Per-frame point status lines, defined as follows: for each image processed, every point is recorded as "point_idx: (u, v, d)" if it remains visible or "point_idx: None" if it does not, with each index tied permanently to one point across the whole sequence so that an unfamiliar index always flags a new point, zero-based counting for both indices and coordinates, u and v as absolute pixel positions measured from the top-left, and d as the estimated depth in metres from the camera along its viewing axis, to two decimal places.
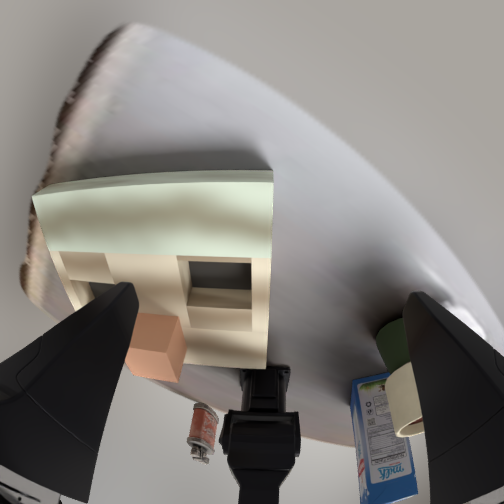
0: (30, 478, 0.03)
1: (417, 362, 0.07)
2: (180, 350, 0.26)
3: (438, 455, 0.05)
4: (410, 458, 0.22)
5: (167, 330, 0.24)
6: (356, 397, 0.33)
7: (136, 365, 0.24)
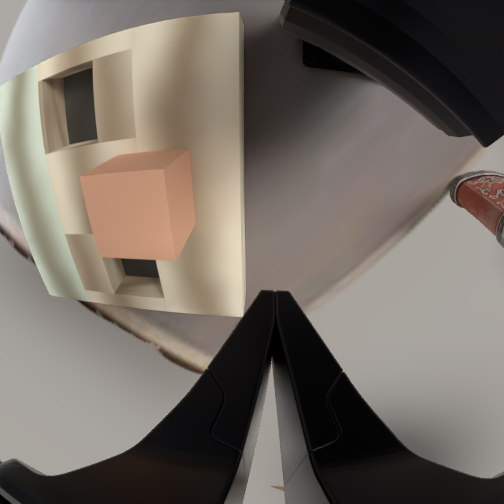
0: None
1: (274, 370, 0.07)
2: (150, 157, 0.14)
3: (286, 482, 0.05)
4: None
5: None
6: None
7: (136, 242, 0.14)
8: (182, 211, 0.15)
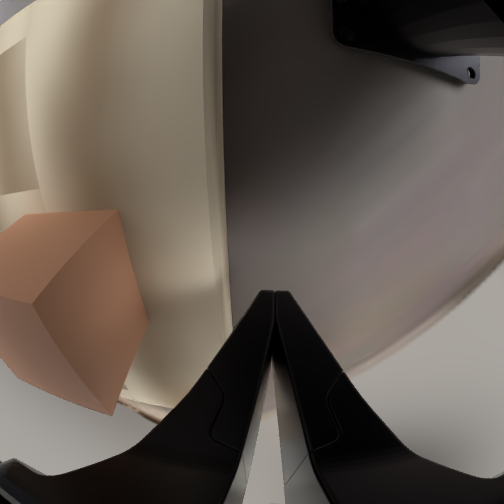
0: None
1: (274, 370, 0.07)
2: (47, 235, 0.07)
3: (286, 482, 0.05)
4: None
5: None
6: None
7: (48, 382, 0.06)
8: (109, 335, 0.08)
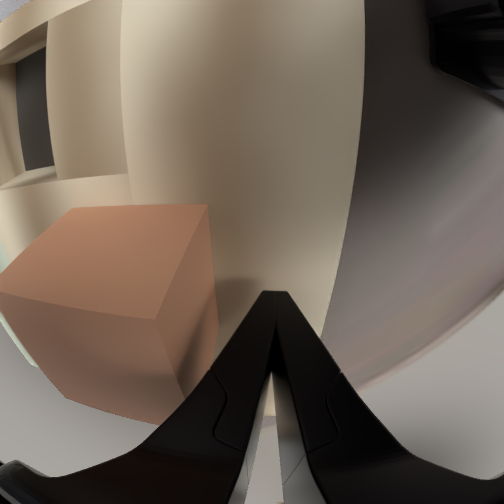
0: None
1: (273, 370, 0.07)
2: (125, 232, 0.07)
3: (285, 482, 0.05)
4: None
5: None
6: None
7: (120, 404, 0.06)
8: (200, 344, 0.07)
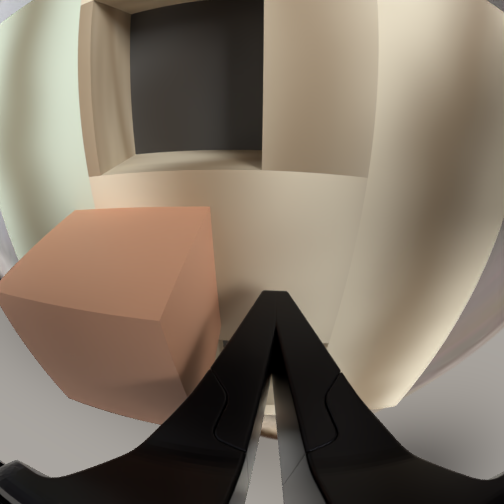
0: None
1: (273, 370, 0.07)
2: (128, 234, 0.07)
3: (284, 482, 0.05)
4: None
5: None
6: None
7: (124, 404, 0.06)
8: (203, 345, 0.07)
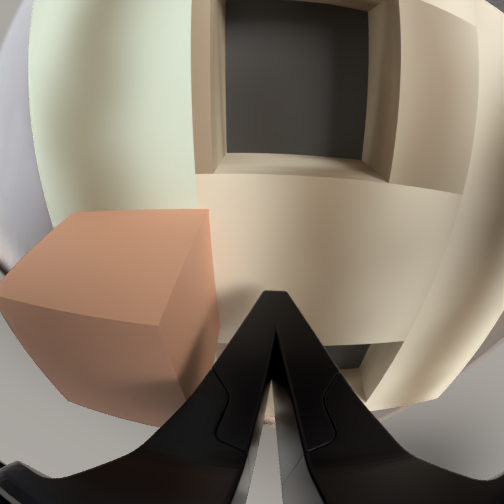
0: None
1: (272, 370, 0.07)
2: (127, 237, 0.07)
3: (283, 482, 0.05)
4: None
5: None
6: None
7: (123, 407, 0.06)
8: (202, 347, 0.07)
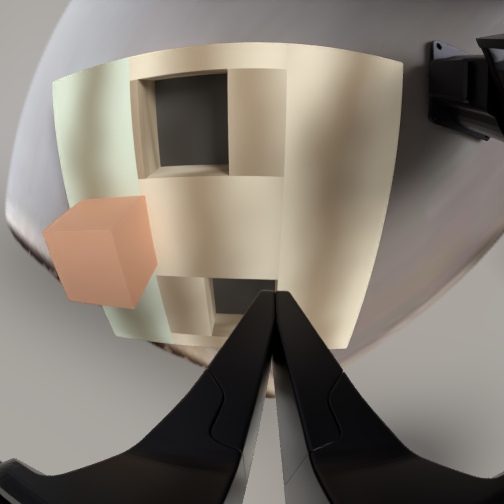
0: None
1: (274, 370, 0.07)
2: (106, 207, 0.14)
3: (286, 482, 0.05)
4: None
5: None
6: None
7: (97, 291, 0.14)
8: (138, 261, 0.15)
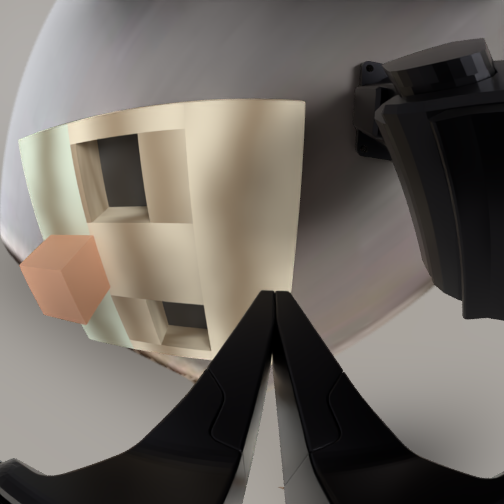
0: None
1: (274, 370, 0.07)
2: (64, 246, 0.17)
3: (286, 482, 0.05)
4: None
5: None
6: None
7: (61, 310, 0.17)
8: (88, 288, 0.18)
